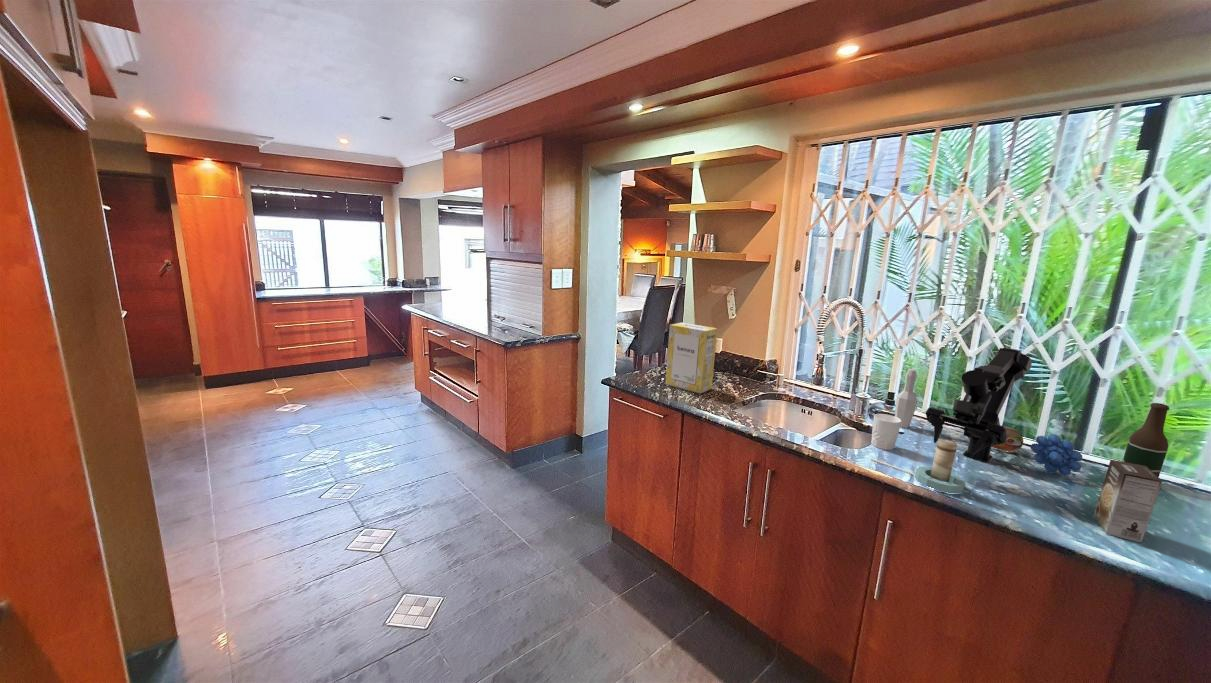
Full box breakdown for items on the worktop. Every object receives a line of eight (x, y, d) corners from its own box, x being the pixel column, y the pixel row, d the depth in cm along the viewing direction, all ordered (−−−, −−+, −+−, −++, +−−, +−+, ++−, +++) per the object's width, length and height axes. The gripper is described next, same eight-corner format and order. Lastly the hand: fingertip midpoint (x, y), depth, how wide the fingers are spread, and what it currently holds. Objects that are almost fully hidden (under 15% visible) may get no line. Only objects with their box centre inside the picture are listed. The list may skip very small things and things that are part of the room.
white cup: (900, 452, 150) (905, 423, 148) (874, 449, 152) (879, 420, 150) (890, 442, 158) (895, 415, 156) (865, 439, 159) (870, 412, 157)
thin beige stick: (872, 459, 144) (872, 458, 144) (915, 475, 135) (916, 473, 135) (871, 460, 143) (871, 459, 143) (914, 476, 134) (915, 474, 134)
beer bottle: (1143, 476, 141) (1167, 402, 136) (1164, 488, 134) (1189, 410, 129) (1111, 471, 144) (1133, 398, 138) (1129, 482, 136) (1153, 406, 131)
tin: (963, 441, 162) (968, 418, 160) (965, 438, 164) (970, 416, 163) (1019, 456, 151) (1025, 432, 149) (1021, 454, 153) (1027, 430, 151)
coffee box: (1091, 516, 117) (1109, 458, 114) (1127, 524, 114) (1146, 465, 111) (1105, 534, 110) (1124, 472, 106) (1144, 544, 106) (1164, 481, 103)
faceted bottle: (891, 426, 173) (902, 369, 169) (892, 421, 178) (902, 366, 174) (911, 430, 170) (922, 373, 165) (911, 425, 175) (922, 369, 170)
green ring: (922, 470, 138) (924, 463, 137) (967, 486, 130) (969, 478, 129) (909, 481, 131) (911, 473, 131) (956, 498, 123) (958, 490, 122)
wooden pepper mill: (939, 479, 133) (948, 439, 130) (952, 487, 128) (961, 446, 126) (925, 479, 132) (933, 439, 130) (937, 487, 128) (946, 446, 125)
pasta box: (665, 384, 213) (669, 324, 207) (677, 379, 221) (681, 322, 215) (700, 393, 201) (706, 331, 195) (711, 388, 209) (717, 328, 203)
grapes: (1024, 469, 142) (1033, 433, 139) (1026, 463, 146) (1035, 428, 144) (1077, 484, 134) (1088, 446, 131) (1077, 477, 138) (1088, 440, 136)
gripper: (933, 381, 139) (912, 422, 135) (1013, 399, 125) (991, 446, 120) (938, 401, 145) (918, 441, 141) (1014, 420, 131) (994, 466, 127)
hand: (953, 448), depth 132 cm, fingers open, 9 cm apart
